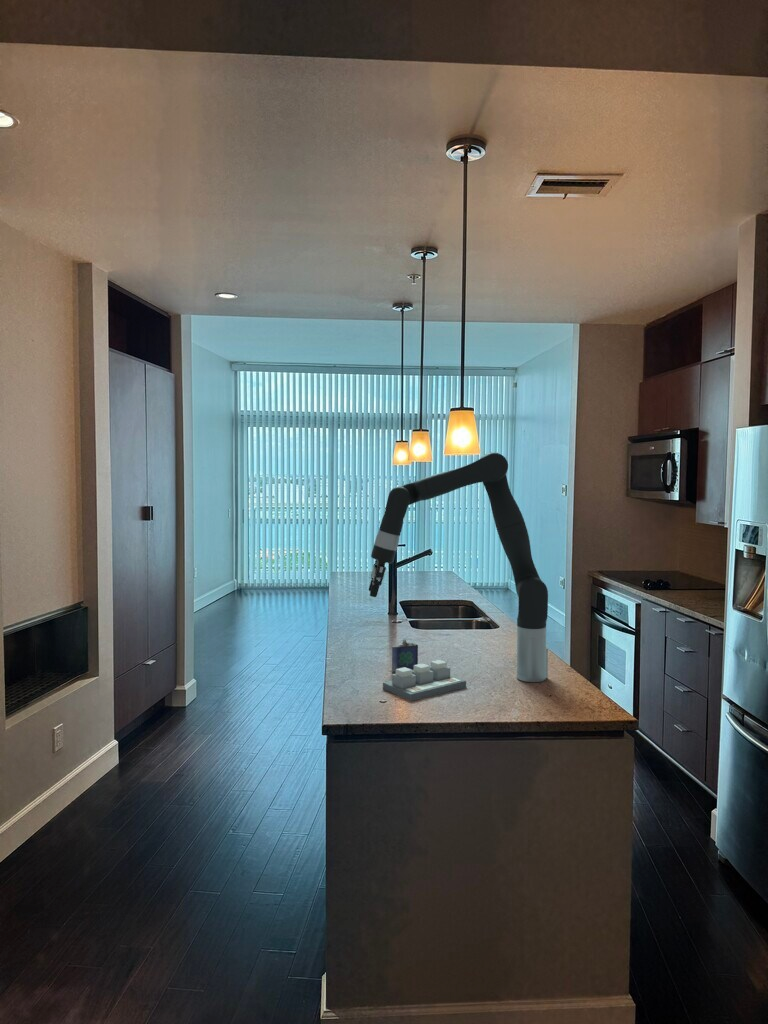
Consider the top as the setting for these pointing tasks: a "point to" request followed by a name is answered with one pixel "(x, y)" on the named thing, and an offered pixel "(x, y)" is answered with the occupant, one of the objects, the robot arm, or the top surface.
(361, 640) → the top surface
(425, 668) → the button middle
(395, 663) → the flask
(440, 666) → the button
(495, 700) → the top surface
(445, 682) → the board
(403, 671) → the button
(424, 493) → the robot arm
